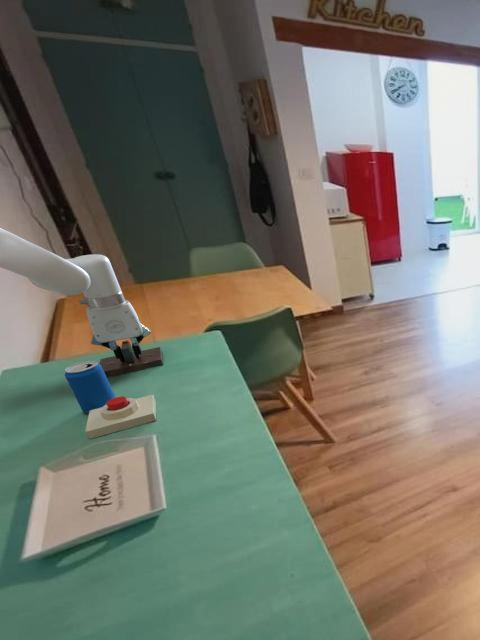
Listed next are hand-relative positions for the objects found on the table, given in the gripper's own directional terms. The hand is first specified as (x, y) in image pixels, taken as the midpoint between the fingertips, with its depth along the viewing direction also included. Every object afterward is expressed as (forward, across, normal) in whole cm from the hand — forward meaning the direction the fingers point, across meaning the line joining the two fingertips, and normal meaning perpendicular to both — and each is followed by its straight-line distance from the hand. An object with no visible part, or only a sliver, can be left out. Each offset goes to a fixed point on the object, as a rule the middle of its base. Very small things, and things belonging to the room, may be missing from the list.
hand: (130, 357), depth 123 cm
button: (-1, -1, -32) cm, 32 cm away
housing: (+2, -1, -32) cm, 32 cm away
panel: (+2, 0, 0) cm, 2 cm away
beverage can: (+2, -6, -23) cm, 24 cm away
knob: (0, 0, 0) cm, 0 cm away
